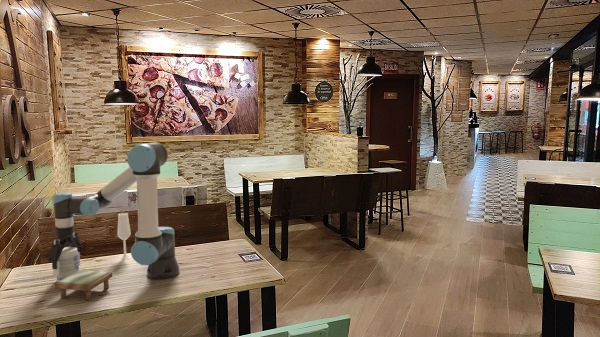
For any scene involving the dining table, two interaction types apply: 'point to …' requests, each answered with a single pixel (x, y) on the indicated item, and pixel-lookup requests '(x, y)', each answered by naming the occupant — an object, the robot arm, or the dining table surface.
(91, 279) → the small wooden table
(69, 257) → the supplement tub
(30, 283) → the dining table surface
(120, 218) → the champagne flute
